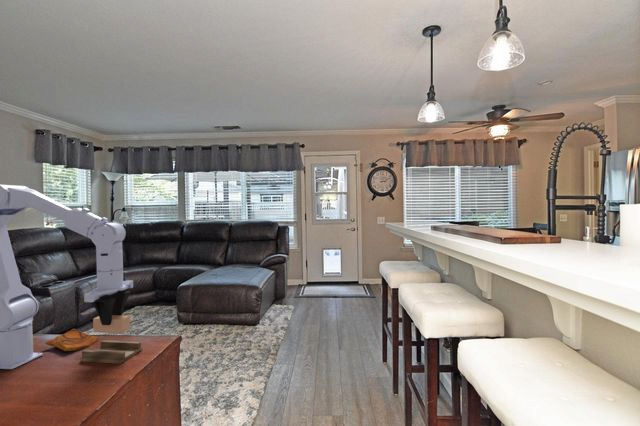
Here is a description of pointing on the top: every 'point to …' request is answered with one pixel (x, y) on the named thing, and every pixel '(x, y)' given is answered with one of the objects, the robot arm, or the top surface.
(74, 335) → the pottery fragment
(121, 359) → the grey u-channel
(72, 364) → the top surface
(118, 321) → the clay strip
